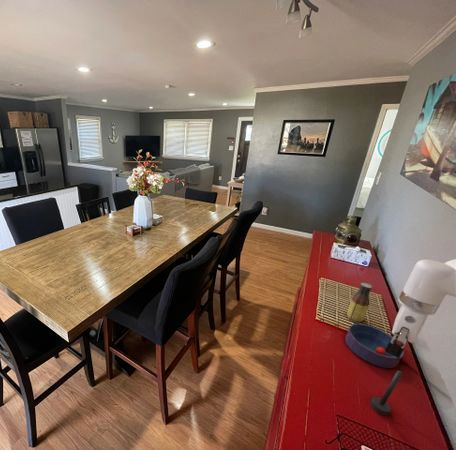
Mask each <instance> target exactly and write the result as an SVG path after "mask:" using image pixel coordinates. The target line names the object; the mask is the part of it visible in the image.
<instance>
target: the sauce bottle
mask: <svg viewBox="0 0 456 450" xmlns="http://www.w3.org/2000/svg"><path fill="white" fill-rule="evenodd" d="M372 289H373V286H372V285H371V284H369V283H366V282H361V283H360V284H359V288H358V291H356V292H355V293H354V294H353V296H352V299H351V301H350V304H349V307H348V309H347V312H346V319H347V320H348V321H349V322H351V323H353V322H354V323H362V322H363V321H364V319H365V316H366V313H367V311H368V308H369V306H370V293H371V291H372Z"/></svg>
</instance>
